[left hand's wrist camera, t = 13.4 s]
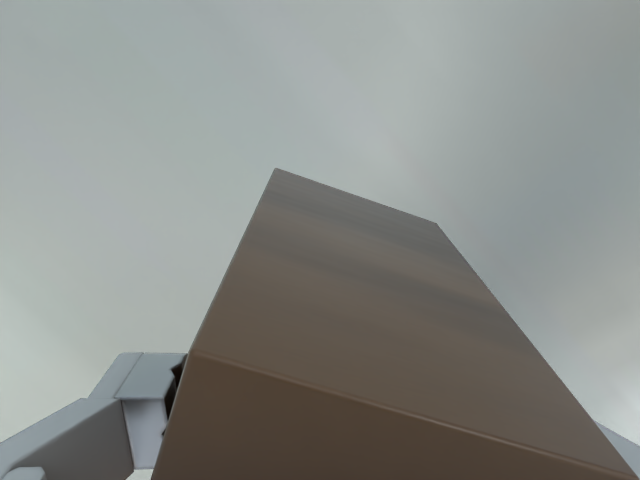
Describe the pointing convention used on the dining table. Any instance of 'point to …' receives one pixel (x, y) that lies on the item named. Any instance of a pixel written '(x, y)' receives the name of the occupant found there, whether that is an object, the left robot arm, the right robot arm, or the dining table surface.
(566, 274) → the dining table surface
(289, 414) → the bar
